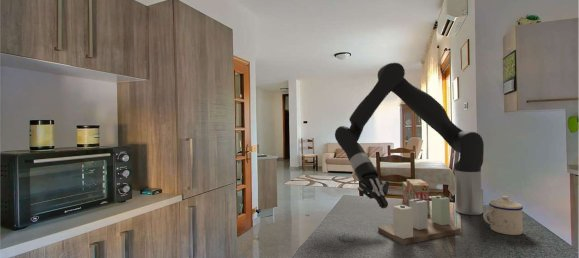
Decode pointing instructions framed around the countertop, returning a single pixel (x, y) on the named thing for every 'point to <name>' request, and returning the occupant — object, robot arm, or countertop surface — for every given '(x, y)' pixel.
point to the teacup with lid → (505, 216)
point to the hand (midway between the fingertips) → (385, 207)
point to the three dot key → (419, 213)
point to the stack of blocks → (415, 191)
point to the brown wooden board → (421, 232)
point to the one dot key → (403, 221)
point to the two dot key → (440, 210)
